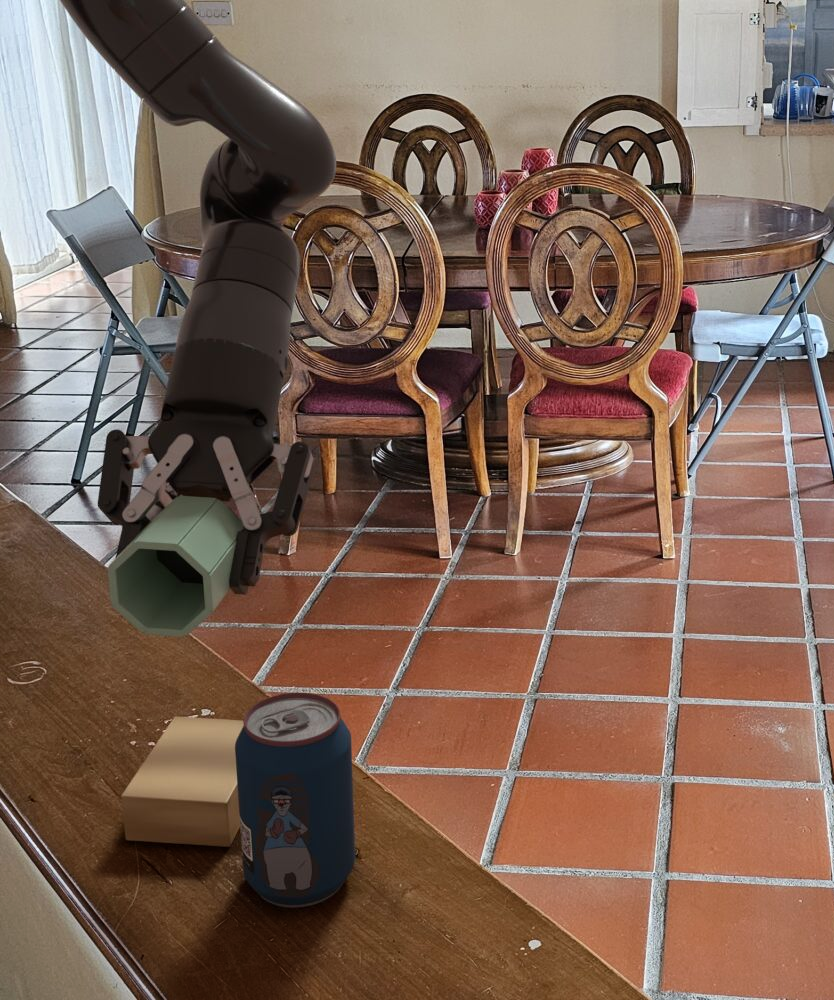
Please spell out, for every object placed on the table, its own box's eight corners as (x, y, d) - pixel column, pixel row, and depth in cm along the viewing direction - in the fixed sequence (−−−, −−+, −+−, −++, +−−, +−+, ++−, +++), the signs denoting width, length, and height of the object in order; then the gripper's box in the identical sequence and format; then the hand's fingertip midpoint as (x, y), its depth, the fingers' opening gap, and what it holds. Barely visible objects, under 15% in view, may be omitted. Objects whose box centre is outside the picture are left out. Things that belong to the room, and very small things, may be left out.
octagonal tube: (159, 578, 89) (152, 491, 86) (252, 584, 88) (247, 497, 86) (113, 632, 81) (104, 539, 79) (214, 639, 81) (208, 546, 79)
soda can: (330, 833, 87) (324, 677, 83) (373, 891, 82) (369, 727, 78) (229, 866, 84) (216, 704, 79) (267, 929, 78) (256, 759, 74)
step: (178, 757, 95) (174, 715, 94) (272, 763, 95) (270, 721, 93) (125, 840, 86) (120, 796, 84) (230, 847, 85) (226, 802, 84)
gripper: (110, 328, 87) (52, 560, 81) (322, 341, 87) (281, 575, 80) (145, 381, 94) (94, 598, 88) (342, 393, 94) (305, 612, 87)
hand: (184, 586), depth 84 cm, fingers closed on octagonal tube, 6 cm apart
